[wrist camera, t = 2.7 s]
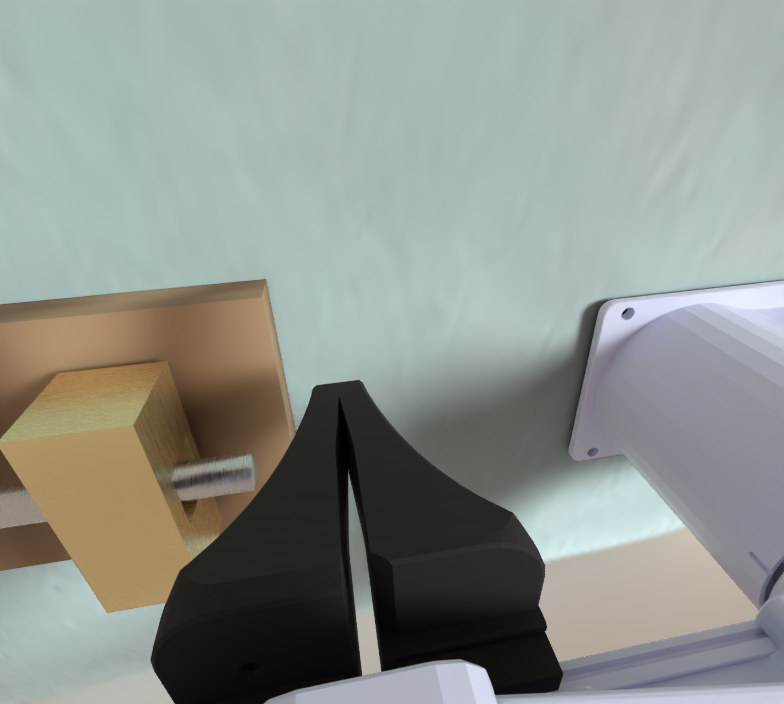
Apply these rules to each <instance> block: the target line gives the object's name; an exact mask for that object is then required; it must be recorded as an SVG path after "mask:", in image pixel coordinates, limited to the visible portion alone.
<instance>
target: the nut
mask: <svg viewBox="0 0 784 704" xmlns="http://www.w3.org/2000/svg"><path fill="white" fill-rule="evenodd" d="M0 450H1V451H2V453H3V454H4V456H5V457H6V459H7V460H8V462H9V463H10V465H11V466H12V468H13V469H14V471H15V473H16V474H17V476H18V477H19V479H20V480H21V482H22V483H23V485H24V486H25V488H26V489H27V491H28V492H29V494H30V495H31V497H32V499H33V500H34V502H35V503H36V505H37V506H38V508H39V509H40V511H41V512H42V514H43V515H44V517H45V518H46V520H47V522H48V523H49V525H50V526H51V528H52V529H53V531H54V532H55V534H56V535H57V537H58V538H59V540H60V541H61V543H62V545H63V546H64V548H65V549H66V551H67V552H68V554H69V555H70V557H71V558H72V560H73V561H74V563H75V564H76V566H77V568H78V569H79V571H80V572H81V574H82V575H83V577H84V578H85V580H86V581H87V583H88V584H89V586H90V587H91V589H92V590H93V592H94V594H95V595H96V597H97V598H98V600H99V601H100V603H101V604H102V606H103V607H104V609H105V610H106V612H107V613H109V612H115V611H121V610H126V609H132V608H138V607H144V606H149V605H155V604H161V603H166V602H167V599H168V597H169V594H170V592H171V589H172V587H173V585H174V582H175V580H176V578H177V575H178V573H179V571H180V570H181V569H182V568H183V567H184V566H186V565H187V564H188V563H189V562H190V561H192V560H193V559H194V558H195V557H196V556H197V555H198V554H200V553H201V552H202V551H203V550H204V549H205V548H206V547H208V546H209V545H210V544H211V543H212V542H213V541H214V540H215V539H216V538H217V537H218V536H219V532H220V527H221V522H222V517H221V514H220V511H219V508H218V506H217V503H216V500H215V497H207V498H201V499H194V500H187V501H180V499H179V496H178V494H177V491H176V489H175V486H174V484H173V482H172V479H171V478H172V475H173V472H174V469H175V467H176V464H177V462H180V461H187V460H194V459H201V457H200V454H199V451H198V449H197V446H196V443H195V440H194V437H193V434H192V431H191V429H190V426H189V423H188V420H187V417H186V414H185V411H184V409H183V406H182V403H181V400H180V397H179V394H178V392H177V389H176V386H175V383H174V380H173V377H172V374H171V372H170V369H169V366H168V363H167V361H163V362H154V363H145V364H136V365H127V366H119V367H110V368H101V369H92V370H84V371H75V372H66V373H58V374H57V375H56V376H55V377H54V379H53V380H52V381H51V382H50V383H49V384H48V385H47V387H46V388H45V389H44V390H43V391H42V392H41V393H40V394H39V396H38V397H37V398H36V399H35V400H34V401H33V402H32V404H31V405H30V406H29V407H28V408H27V409H26V410H25V411H24V413H23V414H22V415H21V416H20V417H19V418H18V419H17V421H16V422H15V423H14V424H13V425H12V426H11V427H10V428H9V430H8V431H7V432H6V433H5V434H4V435H3V436H2V438H1V439H0Z"/></svg>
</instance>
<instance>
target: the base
mask: <svg viewBox="0 0 784 704" xmlns="http://www.w3.org/2000/svg"><path fill="white" fill-rule="evenodd" d="M163 361H167V363H168V366H169V369H170V372H171V374H172V377H173V380H174V383H175V386H176V389H177V392H178V394H179V397H180V400H181V403H182V406H183V409H184V411H185V414H186V417H187V420H188V423H189V426H190V429H191V431H192V434H193V437H194V440H195V443H196V446H197V449H198V451H199V454H200V457H201V459H194V460H187V461H180V462H177V464H176V467H175V469H174V472H173V475H172V478H171V479H172V482H173V484H174V486H175V489H176V491H177V494H178V496H179V499H180V501H187V500H194V499H201V498H207V497H215V500H216V503H217V506H218V508H219V511H220V514H221V517H222V522H221V527H220V532H219V535H220V534H221V533H222V532H223V531H224V530H225V529H226V528H227V527H228V526H229V525H230V524H231V523H232V522H233V521H234V520H235V519H236V518H237V517H238V515H239V514H240V513H241V512H242V511H243V510H244V509H245V508H246V507H247V505H248V504H249V503H250V502H251V501H252V499H253V498H254V497H255V496H256V494H257V493H258V492H259V491H260V489H261V488H262V487H263V485H264V484H265V483H266V481H267V480H268V479H269V477H270V476H271V474H272V473H273V471H274V470H275V468H276V467H277V465H278V464H279V462H280V461H281V459H282V457H283V456H284V454H285V452H286V450H287V449H288V447H289V445H290V443H291V441H292V440H293V438H294V436H295V434H296V431H295V425H294V420H293V415H292V410H291V405H290V400H289V395H288V390H287V385H286V379H285V374H284V369H283V364H282V359H281V354H280V349H279V344H278V339H277V333H276V328H275V323H274V318H273V313H272V308H271V303H270V298H269V293H268V287H267V282H266V279H264V280H254V281H243V282H233V283H222V284H212V285H201V286H191V287H180V288H170V289H159V290H149V291H138V292H128V293H117V294H107V295H96V296H86V297H75V298H65V299H54V300H44V301H34V302H23V303H13V304H2V305H0V439H1V438H2V436H3V435H4V434H5V433H6V432H7V431H8V430H9V428H10V427H11V426H12V425H13V424H14V423H15V422H16V421H17V419H18V418H19V417H20V416H21V415H22V414H23V413H24V411H25V410H26V409H27V408H28V407H29V406H30V405H31V404H32V402H33V401H34V400H35V399H36V398H37V397H38V396H39V394H40V393H41V392H42V391H43V390H44V389H45V388H46V387H47V385H48V384H49V383H50V382H51V381H52V380H53V379H54V377H55V376H56V375H57V374H58V373H66V372H75V371H84V370H92V369H101V368H110V367H119V366H127V365H136V364H145V363H154V362H163ZM70 559H72V558H71V557H70V555H69V554H68V552H67V551H66V549H65V548H64V546H63V545H62V543H61V541H60V540H59V538H58V537H57V535H56V534H55V532H54V531H53V529H52V528H51V526H50V525H49V523H48V522H47V520H46V518H45V517H44V515H43V514H42V512H41V511H40V509H39V508H38V506H37V505H36V503H35V502H34V500H33V499H32V497H31V495H30V494H29V492H28V491H27V489H26V488H25V486H24V485H23V483H22V482H21V480H20V479H19V477H18V476H17V474H16V473H15V471H14V469H13V468H12V466H11V465H10V463H9V462H8V460H7V459H6V457H5V456H4V454H3V453H2V451H1V450H0V571H2V570H8V569H14V568H21V567H27V566H33V565H39V564H45V563H52V562H58V561H64V560H70Z"/></svg>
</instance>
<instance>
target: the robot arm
mask: <svg viewBox="0 0 784 704" xmlns="http://www.w3.org/2000/svg"><path fill="white" fill-rule="evenodd" d="M627 308H628V310H627V312H626V313H625V314H624V315H622V313H623V311H624V310H625V309H627ZM569 454H570V455H571V457H572V458H573V460H575V461H583V460H590V459H596V458H603V457H609V456H615V455H622V454H623V455H624V456H625V457H626V458H627V459H628V460H629V461H630V463H631V464H632V465H633V466H634V467H635V468H636V469H637V471H638V472H639V473H640V474H641V475H642V476H643V478H644V479H645V480H646V481H647V482H648V483H649V484H650V486H651V487H652V488H653V489H654V490H655V491H656V492H657V494H658V495H659V496H660V497H661V498H662V499H663V501H664V502H665V503H666V504H667V505H668V506H669V507H670V509H671V510H672V511H673V512H674V513H675V514H676V516H677V517H678V518H679V519H680V520H681V521H682V522H683V524H684V525H685V526H686V527H687V528H688V529H689V530H690V532H691V533H692V534H693V535H694V536H695V537H696V539H697V540H698V541H699V542H700V543H701V544H702V545H703V547H704V548H705V549H706V550H707V551H708V552H709V553H710V555H711V556H712V557H713V558H714V559H715V560H716V562H717V563H718V564H719V565H720V566H721V567H722V568H723V570H725V572H726V573H727V574H728V575H729V576H730V578H731V579H732V580H733V581H734V582H735V583H736V585H737V586H738V587H739V588H740V589H741V590H742V591H743V593H744V594H745V595H746V596H747V597H748V598H749V599H750V601H751V602H752V603H753V604H754V605H755V606H756V608H757V609H758V610H759V611H758V613H757V615H756V620H751V621H747V622H742V623H738V624H733V625H729V626H724V627H720V628H715V629H711V630H705V631H701V632H697V633H692V634H687V635H683V636H678V637H673V638H669V639H664V640H660V641H655V642H650V643H646V644H641V645H637V646H632V647H628V648H623V649H618V650H614V651H609V652H604V653H600V654H596V655H591V656H586V657H581V658H577V659H572V660H567V661H563V662H558V660H557V658H556V656H555V653H554V651H553V649H552V647H551V644H550V642H549V640H548V638H547V635H546V633H545V631H546V629H547V625H546V621H545V619H544V616H543V614H542V612H541V610H540V608H539V606H538V604H539V600H540V595H541V591H542V586H543V582H544V577H545V564H544V562H543V560H542V558H541V555H540V553H539V551H538V549H537V547H536V546H535V544H534V542H533V540H532V539H531V537H530V536H529V534H528V533H527V532H526V530H525V529H524V527H523V526H522V524H521V523H520V522H519V520H518V519H517V517H516V516H515V515H514V514H513V513H512V512H510V511H508V510H506V509H504V508H502V507H500V506H498V505H496V504H494V503H492V502H490V501H488V500H486V499H484V498H482V497H480V496H478V495H476V494H475V493H473V492H471V491H470V490H468V489H466V488H465V487H463V486H461V485H460V484H458V483H457V482H456V481H454V480H453V479H451V478H450V477H448V476H447V475H445V474H444V473H443V472H441V471H440V470H438V469H437V468H436V467H435V466H433V465H432V464H431V463H430V462H428V461H427V460H426V459H425V458H424V457H423V456H421V455H420V454H419V453H418V452H417V451H416V450H415V449H414V448H413V447H412V446H411V445H409V444H408V443H407V442H406V441H405V439H404V438H403V437H402V436H401V435H400V434H399V433H398V432H397V431H396V430H395V429H394V427H393V426H392V425H391V424H390V423H389V422H388V420H387V419H386V418H385V417H384V415H383V414H382V413H381V411H380V410H379V409H378V407H377V406H376V405H375V403H374V402H373V400H372V399H371V397H370V395H369V394H368V392H367V390H366V388H365V386H364V384H363V383H362V382H361V381H360V380H355V381H347V382H339V383H332V384H324V385H316V386H315V387H314V388H313V390H312V395H311V398H310V401H309V404H308V407H307V409H306V412H305V414H304V417H303V419H302V421H301V423H300V426H299V428H298V430H297V432H296V434H295V436H294V438H293V440H292V441H291V443H290V445H289V447H288V449H287V450H286V452H285V454H284V456H283V457H282V459H281V461H280V462H279V464H278V465H277V467H276V468H275V470H274V471H273V473H272V474H271V476H270V477H269V479H268V480H267V481H266V483H265V484H264V485H263V487H262V488H261V489H260V491H259V492H258V493H257V494H256V496H255V497H254V498H253V499H252V501H251V502H250V503H249V504H248V505H247V507H246V508H245V509H244V510H243V511H242V512H241V513H240V514H239V515H238V517H237V518H236V519H235V520H234V521H233V522H232V523H231V524H230V525H229V526H228V527H227V528H226V529H225V530H224V531H223V532H222V533H221V534H220V535H219V536H218V537H217V538H216V539H215V540H214V541H213V542H212V543H211V544H210V545H209V546H208V547H206V548H205V549H204V550H203V551H202V552H201V553H200V554H198V555H197V556H196V557H195V558H194V559H193V560H192V561H190V562H189V563H188V564H187V565H186V566H184V567H183V568H182V569H181V570H180V571H179V573H178V575H177V578H176V580H175V582H174V585H173V587H172V589H171V592H170V594H169V597H168V599H167V602H166V604H165V607H164V610H163V613H162V616H161V619H160V623H159V627H158V631H157V635H156V639H155V642H154V646H153V651H152V656H151V663H152V666H153V669H154V672H155V673H156V675H157V676H158V678H159V679H160V681H161V683H162V684H163V686H164V687H165V689H166V690H167V692H168V694H169V695H170V697H171V698H172V700H173V702H174V703H175V704H784V281H775V282H766V283H757V284H748V285H739V286H730V287H721V288H712V289H703V290H694V291H685V292H676V293H667V294H658V295H649V296H640V297H631V298H622V299H613V300H610V301H607V302H606V303H604V304H603V305H602V307H601V308H600V310H599V312H598V316H597V321H596V325H595V330H594V335H593V339H592V344H591V348H590V353H589V358H588V362H587V367H586V372H585V376H584V381H583V385H582V390H581V395H580V399H579V404H578V409H577V413H576V418H575V422H574V427H573V432H572V436H571V441H570V446H569ZM348 471H349V475H350V480H351V484H352V489H353V493H354V497H355V502H356V506H357V511H358V515H359V519H360V524H361V528H362V533H363V537H364V543H365V548H366V555H367V563H368V571H369V578H370V586H371V594H372V602H373V609H374V616H375V624H376V633H377V640H378V648H379V656H380V664H381V672H379V673H374V674H369V675H365V676H362V670H361V661H360V651H359V642H358V632H357V623H356V613H355V603H354V594H353V584H352V574H351V564H350V554H349V520H348Z"/></svg>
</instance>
